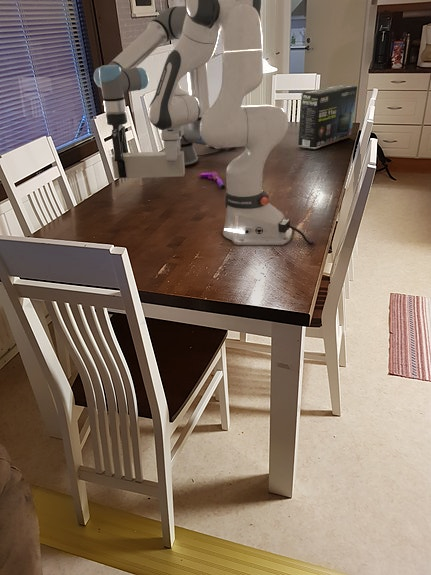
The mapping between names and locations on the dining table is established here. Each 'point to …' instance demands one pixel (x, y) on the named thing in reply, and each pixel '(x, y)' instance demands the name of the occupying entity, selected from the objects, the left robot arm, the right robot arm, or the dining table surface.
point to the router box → (326, 115)
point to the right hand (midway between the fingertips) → (175, 167)
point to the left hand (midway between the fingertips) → (124, 174)
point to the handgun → (213, 176)
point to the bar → (149, 165)
